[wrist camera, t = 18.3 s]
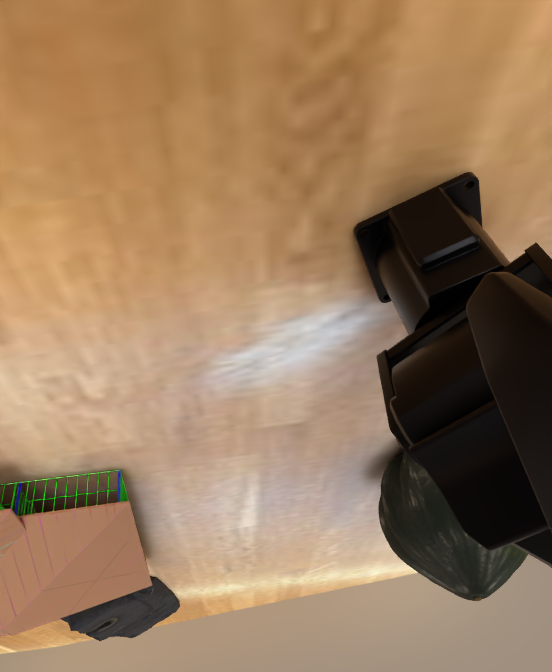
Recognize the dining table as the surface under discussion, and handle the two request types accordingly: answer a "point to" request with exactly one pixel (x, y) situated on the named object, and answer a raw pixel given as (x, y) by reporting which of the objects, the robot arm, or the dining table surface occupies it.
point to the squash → (438, 535)
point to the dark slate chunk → (126, 613)
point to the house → (66, 558)
